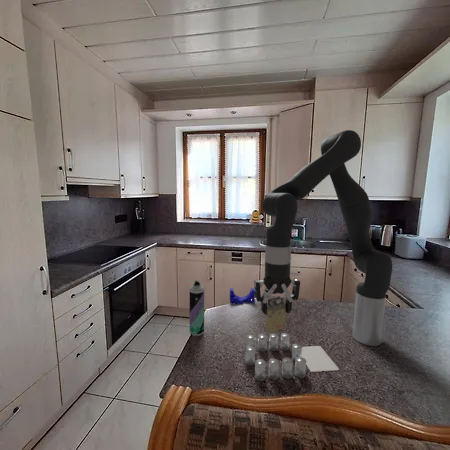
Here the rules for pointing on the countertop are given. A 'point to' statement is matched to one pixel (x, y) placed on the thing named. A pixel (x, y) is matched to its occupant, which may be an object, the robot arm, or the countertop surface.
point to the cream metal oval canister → (275, 315)
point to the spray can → (197, 309)
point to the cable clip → (240, 300)
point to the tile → (317, 359)
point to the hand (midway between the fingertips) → (276, 312)
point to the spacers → (274, 363)
